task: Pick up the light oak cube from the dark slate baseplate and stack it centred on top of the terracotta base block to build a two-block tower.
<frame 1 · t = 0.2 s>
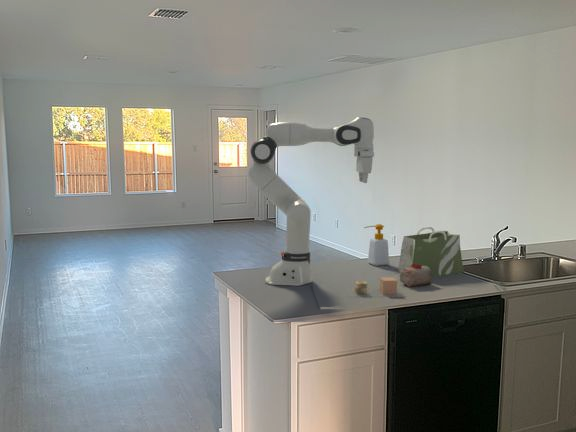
hand: (363, 182, 261), 47 cm above the worktop, tool pointing down, fingers open, 8 cm apart
food item: (415, 285, 260), on the worktop
base block: (388, 294, 242), resting on baseplate
soap bottle: (374, 264, 306), on the worktop
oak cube: (360, 292, 241), point 1 cm above the worktop, touching baseplate
grocery bag: (430, 273, 286), on the worktop
baseplate: (374, 294, 241), on the worktop
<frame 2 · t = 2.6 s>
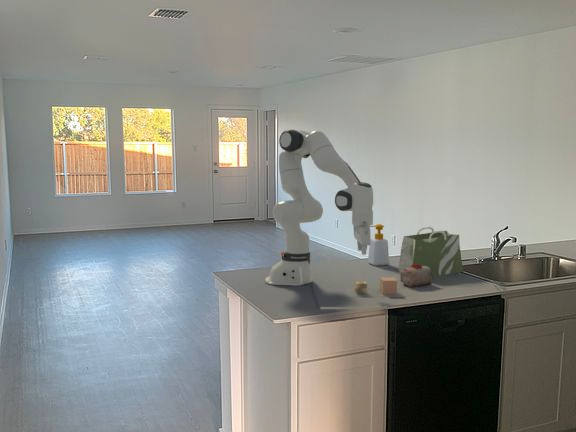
hand: (361, 252, 239), 19 cm above the worktop, tool pointing down, fingers open, 8 cm apart
nothing on the worktop moved.
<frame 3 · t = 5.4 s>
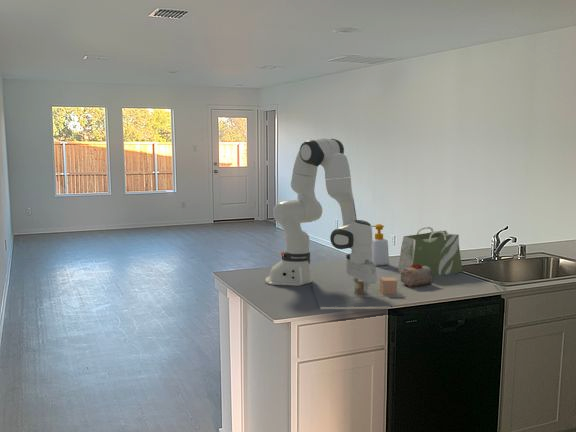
hand: (360, 289, 241), 3 cm above the worktop, tool pointing down, fingers closed on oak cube, 5 cm apart
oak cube: (360, 292, 241), point 1 cm above the worktop, touching baseplate, gripper
everything else where it was.
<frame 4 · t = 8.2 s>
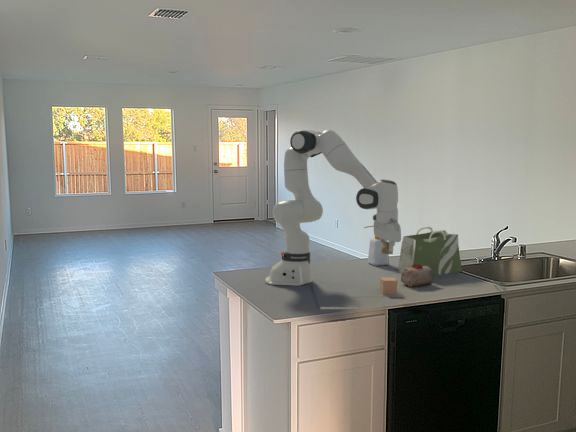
hand: (387, 249, 239), 20 cm above the worktop, tool pointing down, fingers closed on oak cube, 5 cm apart
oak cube: (387, 253, 239), point 18 cm above the worktop, touching gripper
everything else where it was.
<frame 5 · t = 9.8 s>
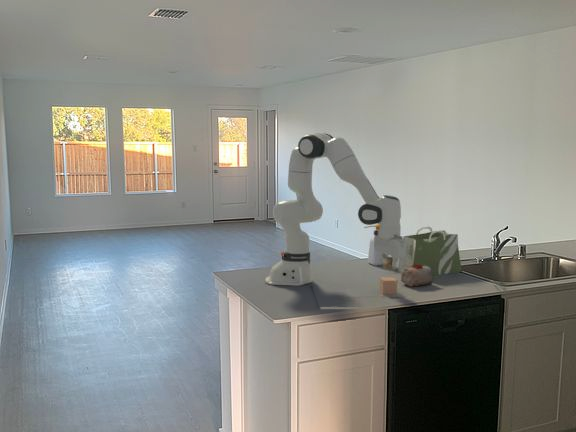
hand: (389, 265, 240), 13 cm above the worktop, tool pointing down, fingers closed on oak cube, 5 cm apart
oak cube: (389, 268, 240), point 12 cm above the worktop, touching gripper
when the fingers open (10 cm above the worktop, at t = 11.2 s): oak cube drops 1 cm, resting on base block.
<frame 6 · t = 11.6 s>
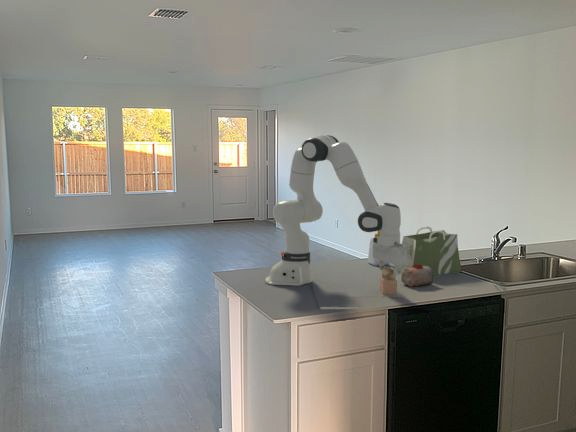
hand: (388, 272, 241), 10 cm above the worktop, tool pointing down, fingers open, 8 cm apart
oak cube: (388, 279, 241), point 7 cm above the worktop, touching base block
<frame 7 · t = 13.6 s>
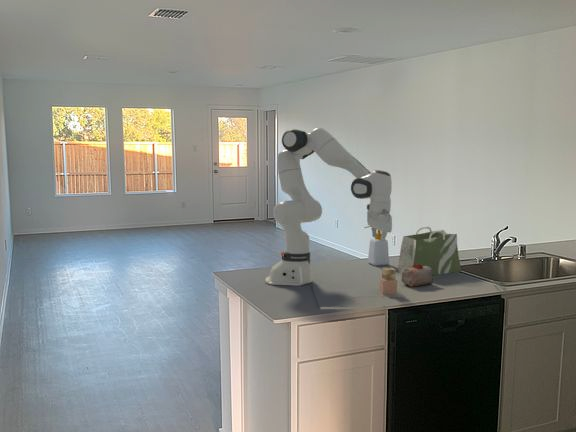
hand: (378, 239, 245), 24 cm above the worktop, tool pointing down, fingers open, 8 cm apart
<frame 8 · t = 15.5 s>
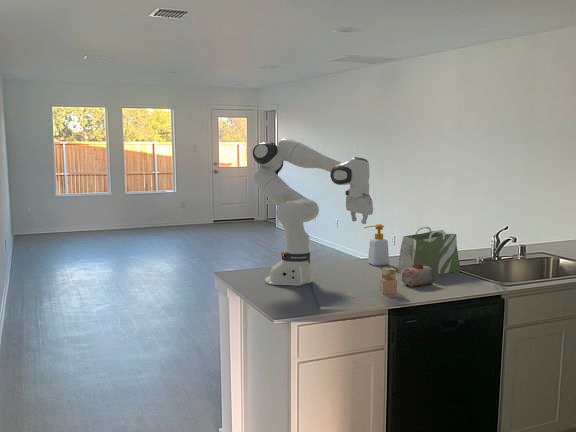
hand: (358, 222, 258), 29 cm above the worktop, tool pointing down, fingers open, 8 cm apart
at the end: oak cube 0.0 cm off-centre on the base block, point 7.0 cm above the base block's base; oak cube tilted 0°; the gripper is holding nothing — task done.
